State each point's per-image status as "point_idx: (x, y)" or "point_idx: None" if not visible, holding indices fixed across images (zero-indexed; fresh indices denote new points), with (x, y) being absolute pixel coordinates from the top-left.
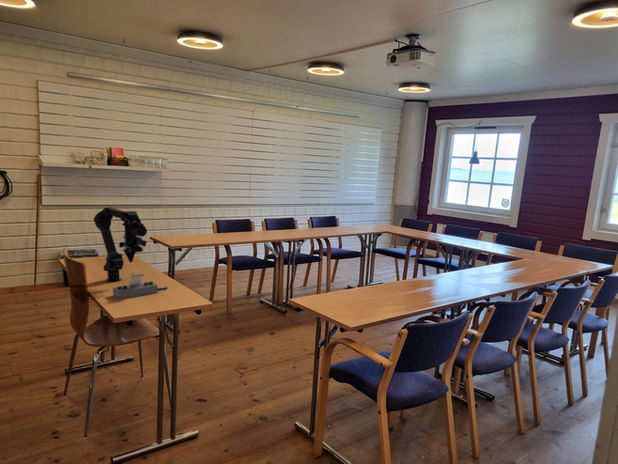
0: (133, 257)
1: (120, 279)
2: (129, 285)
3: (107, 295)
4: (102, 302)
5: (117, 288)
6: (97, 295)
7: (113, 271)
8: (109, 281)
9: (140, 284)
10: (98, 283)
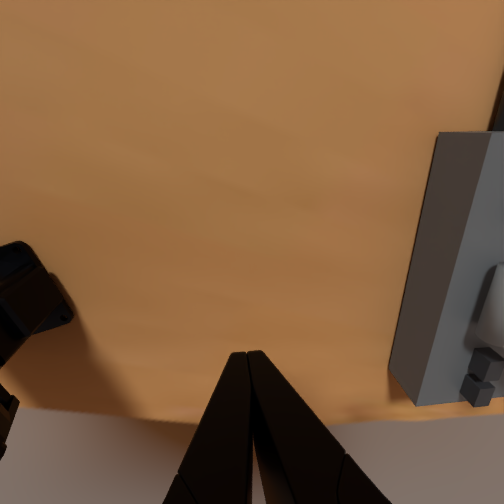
0: (326, 430)
1: (26, 254)
2: (475, 331)
3: (358, 385)
4: (443, 415)
5: (444, 389)
6: (326, 418)
7: (2, 363)
8: (47, 327)
9: (480, 245)
10: (69, 384)
